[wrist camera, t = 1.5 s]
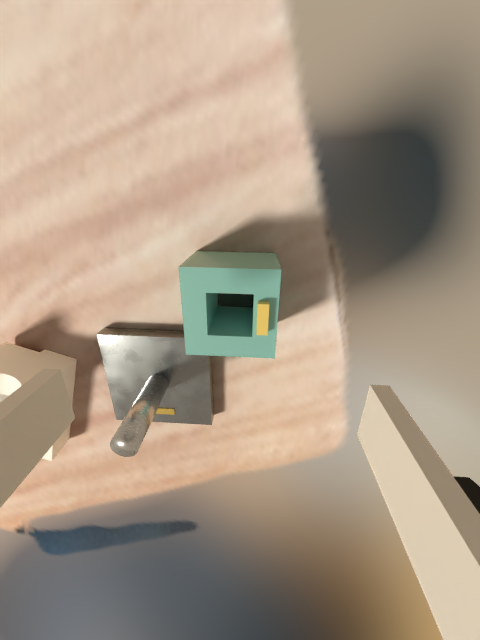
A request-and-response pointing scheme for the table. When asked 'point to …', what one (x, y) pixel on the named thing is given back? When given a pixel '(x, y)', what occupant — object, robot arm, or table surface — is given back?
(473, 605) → the robot arm
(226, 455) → the table surface
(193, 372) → the shaft base
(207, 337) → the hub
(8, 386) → the bracket
